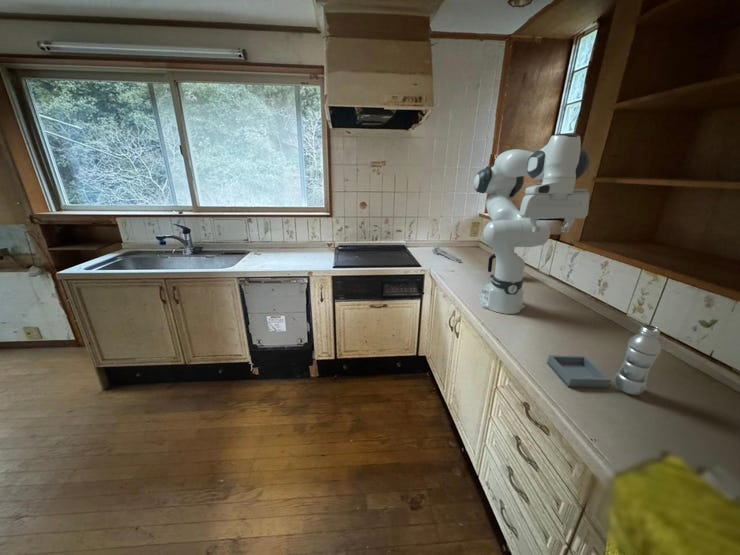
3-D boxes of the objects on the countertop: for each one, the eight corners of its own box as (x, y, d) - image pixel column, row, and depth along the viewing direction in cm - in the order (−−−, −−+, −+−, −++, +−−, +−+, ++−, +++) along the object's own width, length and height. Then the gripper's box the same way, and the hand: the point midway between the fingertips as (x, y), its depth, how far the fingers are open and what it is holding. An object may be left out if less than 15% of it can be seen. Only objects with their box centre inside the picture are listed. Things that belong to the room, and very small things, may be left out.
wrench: (457, 267, 194) (429, 251, 218) (459, 266, 195) (431, 251, 218) (460, 255, 191) (431, 241, 214) (462, 255, 192) (433, 240, 215)
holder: (546, 363, 93) (549, 355, 92) (582, 363, 93) (584, 355, 92) (568, 387, 83) (570, 378, 82) (607, 388, 83) (610, 379, 82)
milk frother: (509, 275, 171) (513, 251, 165) (519, 285, 156) (524, 259, 151) (484, 274, 172) (487, 250, 167) (491, 284, 157) (496, 258, 152)
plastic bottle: (627, 381, 86) (650, 321, 79) (648, 398, 79) (676, 334, 72) (606, 381, 85) (627, 321, 78) (625, 398, 79) (651, 335, 72)
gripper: (583, 189, 95) (575, 231, 99) (520, 188, 96) (514, 231, 99) (597, 188, 89) (588, 233, 93) (530, 187, 90) (524, 233, 93)
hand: (550, 232), depth 96 cm, fingers open, 8 cm apart
